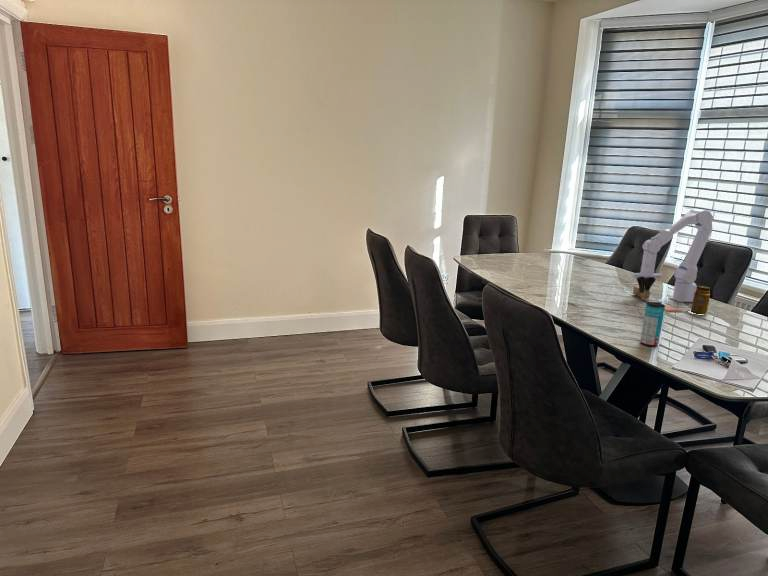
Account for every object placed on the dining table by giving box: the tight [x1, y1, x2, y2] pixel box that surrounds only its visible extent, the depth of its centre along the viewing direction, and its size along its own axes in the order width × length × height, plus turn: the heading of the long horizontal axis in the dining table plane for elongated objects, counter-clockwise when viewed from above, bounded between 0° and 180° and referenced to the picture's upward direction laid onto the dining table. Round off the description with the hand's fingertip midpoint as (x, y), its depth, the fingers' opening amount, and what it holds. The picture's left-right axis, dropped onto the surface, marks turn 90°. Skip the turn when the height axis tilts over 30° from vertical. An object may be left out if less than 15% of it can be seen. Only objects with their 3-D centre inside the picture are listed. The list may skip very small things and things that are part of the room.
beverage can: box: [639, 302, 666, 348], centre depth 188 cm, size 6×6×15 cm
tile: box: [664, 305, 683, 313], centre depth 239 cm, size 7×1×8 cm
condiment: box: [684, 285, 711, 316], centre depth 234 cm, size 7×8×12 cm
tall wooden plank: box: [632, 285, 663, 304], centre depth 256 cm, size 17×6×4 cm, turn 7°
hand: (643, 292), depth 257 cm, fingers closed on tall wooden plank, 2 cm apart
